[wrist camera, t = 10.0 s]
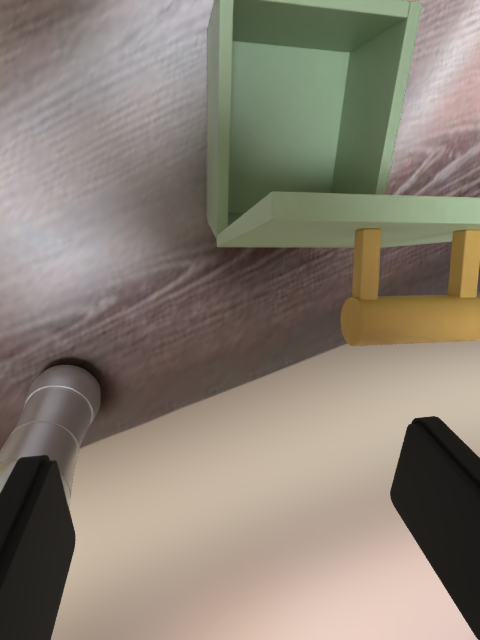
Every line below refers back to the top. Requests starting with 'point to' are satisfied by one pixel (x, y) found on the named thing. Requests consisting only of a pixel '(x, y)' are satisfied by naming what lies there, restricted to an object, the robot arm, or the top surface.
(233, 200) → the chest
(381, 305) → the lid
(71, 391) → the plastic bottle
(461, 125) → the top surface
